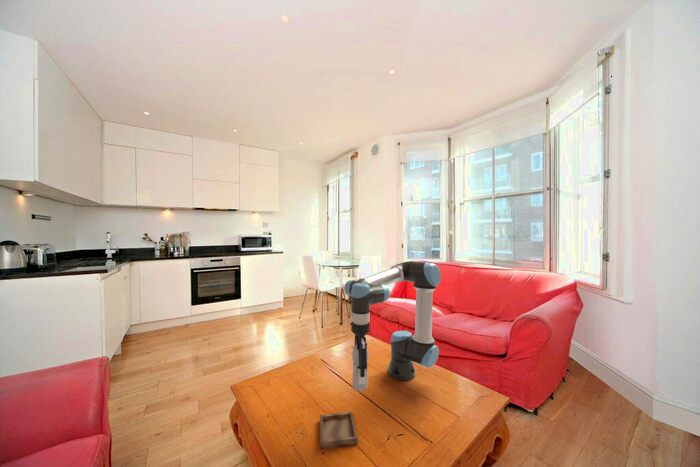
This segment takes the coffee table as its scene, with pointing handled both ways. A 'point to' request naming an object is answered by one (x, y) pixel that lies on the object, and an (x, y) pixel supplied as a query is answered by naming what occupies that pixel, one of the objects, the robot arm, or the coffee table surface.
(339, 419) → the tray
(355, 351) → the bottle
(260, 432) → the coffee table surface
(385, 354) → the coffee table surface
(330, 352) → the coffee table surface
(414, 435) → the coffee table surface
